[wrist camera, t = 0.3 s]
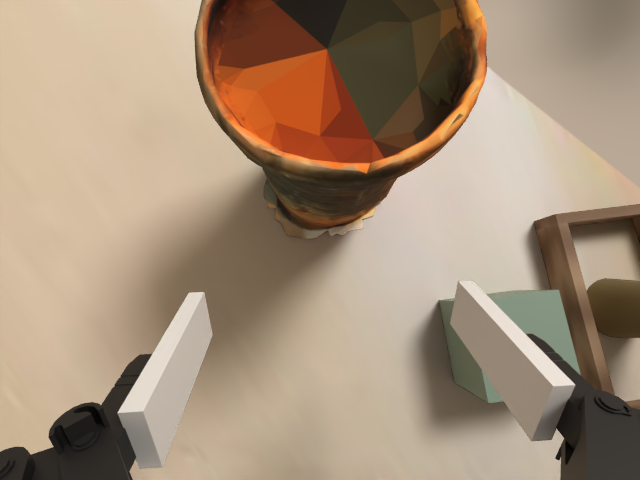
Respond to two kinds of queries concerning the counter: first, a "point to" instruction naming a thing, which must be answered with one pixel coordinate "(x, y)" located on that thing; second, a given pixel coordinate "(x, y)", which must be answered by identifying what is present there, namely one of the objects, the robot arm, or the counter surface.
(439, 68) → the vessel
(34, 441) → the counter surface
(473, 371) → the stand
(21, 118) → the counter surface
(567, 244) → the wooden frame
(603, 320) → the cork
